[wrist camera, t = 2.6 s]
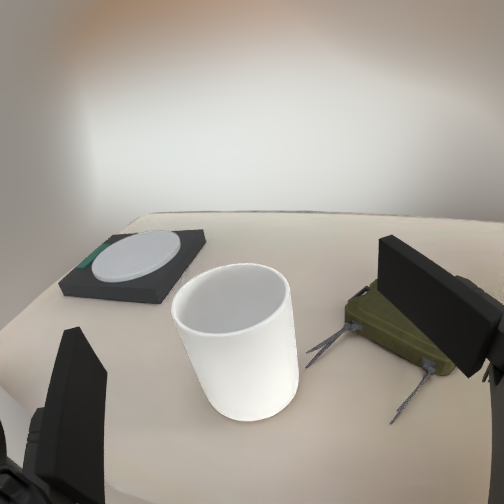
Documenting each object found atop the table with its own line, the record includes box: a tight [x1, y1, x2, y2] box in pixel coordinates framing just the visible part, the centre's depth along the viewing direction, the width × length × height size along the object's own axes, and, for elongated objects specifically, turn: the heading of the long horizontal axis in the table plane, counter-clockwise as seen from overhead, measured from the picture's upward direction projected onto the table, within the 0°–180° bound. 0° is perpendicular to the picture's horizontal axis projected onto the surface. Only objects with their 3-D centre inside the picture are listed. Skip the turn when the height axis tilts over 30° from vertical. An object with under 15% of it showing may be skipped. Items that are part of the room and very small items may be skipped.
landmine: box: [305, 279, 456, 424], centre depth 27 cm, size 14×3×15 cm
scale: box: [58, 229, 206, 304], centre depth 49 cm, size 20×17×3 cm
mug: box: [171, 263, 299, 421], centre depth 26 cm, size 12×8×10 cm
